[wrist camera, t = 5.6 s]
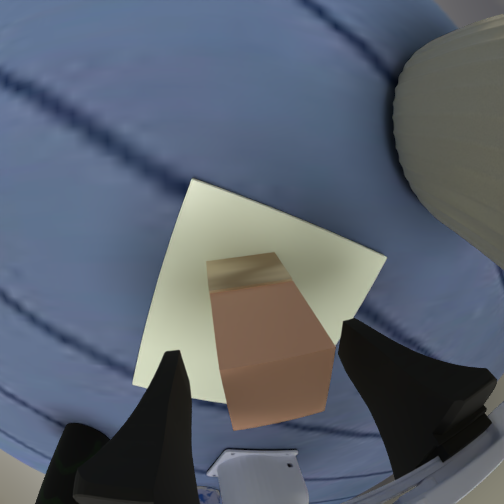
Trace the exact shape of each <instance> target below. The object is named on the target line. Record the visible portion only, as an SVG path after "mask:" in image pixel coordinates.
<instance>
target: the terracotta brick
mask: <svg viewBox="0 0 504 504" xmlns="http://www.w3.org/2000/svg"><path fill="white" fill-rule="evenodd" d="M210 299H211V308H212V317H213V325H214V333H215V341H216V349H217V357H218V364H219V371H220V376H221V380H222V384H223V389H224V393H225V398H226V402H227V406H228V410H229V414H230V418H231V422H232V426H233V430H234V431H236V430H242V429H248V428H254V427H259V426H264V425H269V424H274V423H279V422H283V421H288V420H292V419H296V418H300V417H304V416H308V415H311V414H315V413H319V412H322V411H324V410H325V406H326V401H327V395H328V390H329V385H330V379H331V374H332V368H333V362H334V355H335V349H336V346H335V345H334V343H333V342H332V340H331V338H330V337H329V335H328V334H327V332H326V331H325V329H324V328H323V326H322V325H321V323H320V321H319V320H318V318H317V317H316V315H315V314H314V312H313V311H312V309H311V308H310V306H309V305H308V303H307V302H306V300H305V298H304V297H303V295H302V294H301V292H300V291H299V289H298V288H297V286H296V285H295V283H294V282H293V281H288V282H282V283H276V284H269V285H263V286H257V287H250V288H244V289H237V290H230V291H223V292H216V293H210Z"/></svg>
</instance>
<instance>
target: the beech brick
mask: <svg viewBox="0 0 504 504" xmlns="http://www.w3.org/2000/svg"><path fill="white" fill-rule="evenodd" d="M206 266H207V277H208V288H209V295H210V293H216V292H223V291H230V290H237V289H244V288H250V287H257V286H263V285H269V284H276V283H282V282H288V281H292V277H291V276H290V274H289V273H288V271H287V270H286V268H285V267H284V266H283V264H282V263H281V261H280V260H279V258H278V257H277V255H276V254H275V252H271V253H263V254H256V255H249V256H242V257H234V258H227V259H219V260H212V261H206ZM210 301H211V299H210Z"/></svg>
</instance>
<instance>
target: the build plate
mask: <svg viewBox="0 0 504 504" xmlns="http://www.w3.org/2000/svg"><path fill="white" fill-rule="evenodd" d="M271 252H275V254H276V255H277V257H278V258H279V260H280V261H281V263H282V264H283V266H284V267H285V268H286V270H287V271H288V273H289V274H290V276H291V277H292V281H293V282H294V283H295V285H296V286H297V288H298V289H299V291H300V292H301V294H302V295H303V297H304V298H305V300H306V302H307V303H308V305H309V306H310V308H311V309H312V311H313V312H314V314H315V315H316V317H317V318H318V320H319V321H320V323H321V325H322V326H323V328H324V329H325V331H326V332H327V334H328V335H329V337H330V338H331V340H332V342H333V343H334V345H336V344H337V342H338V341H339V339H340V338H341V331H342V324H343V321H345V320H349V319H353V317H354V316H355V314H356V312H357V311H358V309H359V307H360V306H361V304H362V302H363V300H364V299H365V297H366V295H367V294H368V292H369V290H370V288H371V287H372V285H373V283H374V281H375V279H376V278H377V276H378V274H379V272H380V270H381V268H382V266H383V265H384V263H385V261H386V259H387V257H386V256H384V255H383V254H381V253H378V252H376V251H374V250H372V249H370V248H367V247H365V246H363V245H361V244H358V243H356V242H354V241H352V240H349V239H347V238H345V237H342V236H340V235H338V234H336V233H333V232H331V231H329V230H326V229H324V228H321V227H319V226H317V225H314V224H312V223H309V222H307V221H305V220H302V219H300V218H297V217H295V216H292V215H290V214H287V213H285V212H282V211H280V210H277V209H275V208H272V207H270V206H267V205H265V204H262V203H260V202H257V201H254V200H252V199H249V198H246V197H244V196H241V195H238V194H236V193H233V192H230V191H228V190H225V189H222V188H220V187H217V186H214V185H211V184H208V183H206V182H203V181H200V180H197V179H194V178H192V180H191V182H190V185H189V188H188V190H187V193H186V196H185V199H184V201H183V204H182V207H181V210H180V213H179V215H178V218H177V221H176V224H175V227H174V230H173V233H172V236H171V239H170V242H169V245H168V249H167V252H166V255H165V258H164V261H163V265H162V268H161V271H160V275H159V278H158V281H157V285H156V288H155V292H154V295H153V299H152V303H151V306H150V310H149V314H148V318H147V322H146V326H145V329H144V334H143V338H142V342H141V346H140V350H139V355H138V359H137V364H136V368H135V373H134V378H133V383H132V385H136V386H140V387H144V388H148V386H149V384H150V383H151V381H152V379H153V377H154V375H155V373H156V371H157V368H158V366H159V364H160V362H161V359H162V357H163V355H164V353H165V352H166V351H173V350H180V352H181V355H182V359H183V362H184V365H185V368H186V371H187V375H188V378H189V381H190V389H191V398H195V399H201V400H207V401H213V402H220V403H227V402H226V398H225V393H224V389H223V384H222V380H221V376H220V371H219V364H218V357H217V349H216V341H215V333H214V325H213V317H212V308H211V301H210V295H209V288H208V277H207V266H206V261H212V260H219V259H227V258H234V257H242V256H249V255H256V254H263V253H271Z"/></svg>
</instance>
